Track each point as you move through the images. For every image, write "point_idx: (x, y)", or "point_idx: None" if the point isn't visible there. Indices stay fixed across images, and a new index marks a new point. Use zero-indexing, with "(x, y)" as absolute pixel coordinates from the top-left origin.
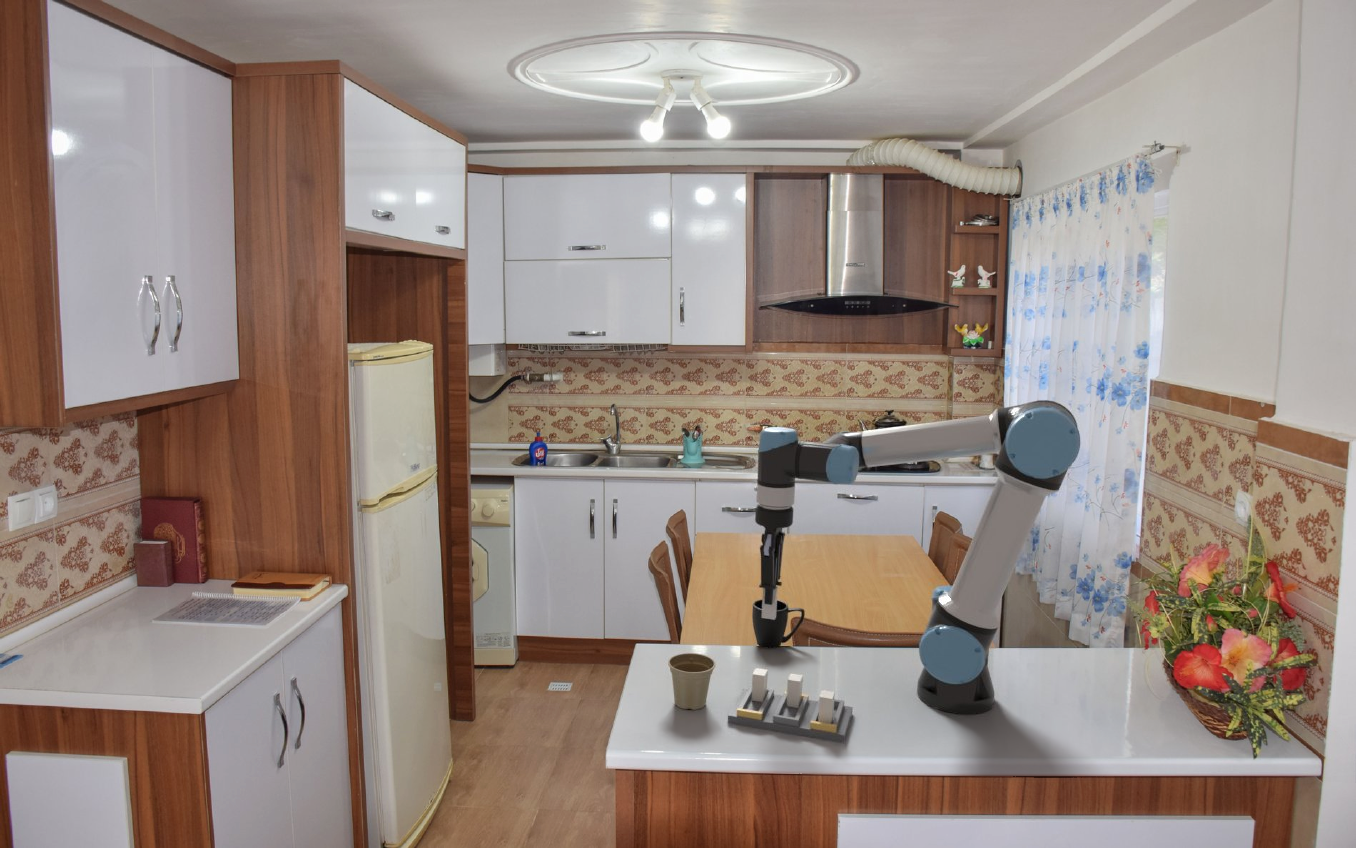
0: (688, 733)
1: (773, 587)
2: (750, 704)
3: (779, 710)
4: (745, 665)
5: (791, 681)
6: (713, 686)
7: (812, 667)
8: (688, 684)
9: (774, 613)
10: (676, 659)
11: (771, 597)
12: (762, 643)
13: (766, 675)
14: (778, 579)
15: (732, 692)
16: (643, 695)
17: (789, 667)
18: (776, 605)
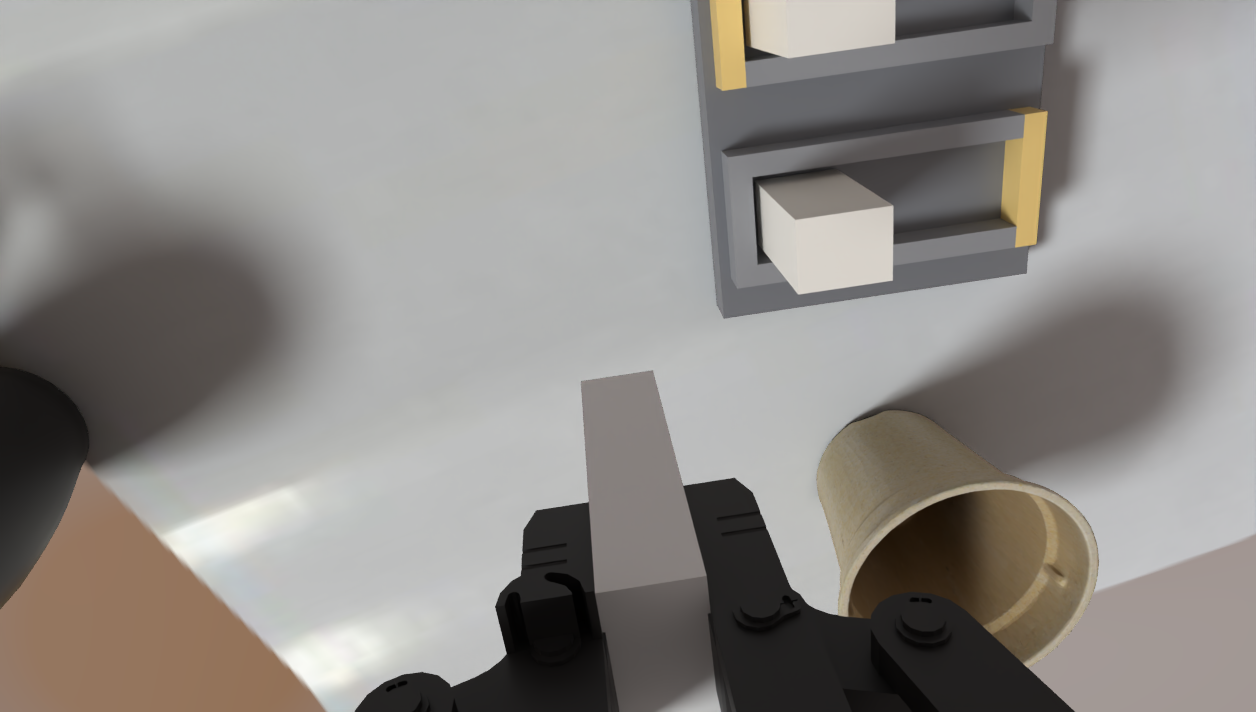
0: (1143, 364)
1: (941, 608)
2: None
3: (978, 32)
4: (371, 425)
5: (892, 14)
6: (679, 455)
7: (141, 90)
8: (1032, 518)
9: (660, 403)
10: None
11: (768, 534)
12: (82, 450)
13: (823, 209)
14: (445, 684)
15: (699, 361)
16: None
17: (239, 217)
18: (595, 442)
